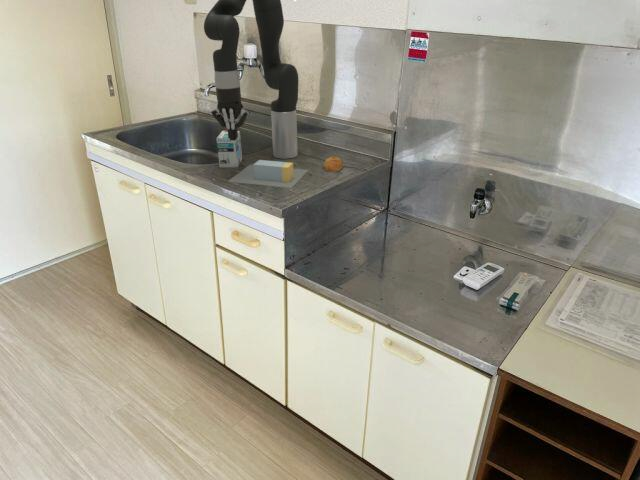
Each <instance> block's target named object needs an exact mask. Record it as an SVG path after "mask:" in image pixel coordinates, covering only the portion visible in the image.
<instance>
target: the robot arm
mask: <svg viewBox="0 0 640 480" xmlns="http://www.w3.org/2000/svg"><path fill="white" fill-rule="evenodd" d="M246 2H247V0H217V2H216V3H215V4H214V5H213V6H212V8H211V9H210V11H209V12H208V13H207V15H206V16H205V20H204V23H203V31H204V35H206V37H207V38H208V39H210V40H212V41H217V42H218V41H220V42H221V47H220V48H219V49H216V50H214V51H213V53H212V60H213V68H214V85H215V93H216V101H217V105H216V108H215V109H214V110H212V111H211V115H212V116H213V117H214V118H215V120H216V121H217V122H218V124H219V125H220V127H222V128H226V129H227V130H226V131H228V137H229V139H230V140H233V141H235V140H236V139H237V138H238V131H239V130H238V129H239V128H241V127H243V125H244V124H245V122H246V121H247V119H248V117H249V115H251V112H250V111H249V110H248V111H247V110H246V109H245V108H244V105H243V103H242V93H241V81H240V76H239V75H240V74H239V70H238V61H237V60H238V59H237V54H238V53H237V52H238V46H239V41H240V40H239V38H240V32H241V31H240V25H239V22H238V20H237V19H236V18H235V17H236V16H239V15H240V14H241V13H242V12H243V9H244V6H245V4H246ZM252 5H253V12H254V18H255V23H256V26H257V30H258V32H257V33H258V36H259V37H258V38H259V42H260V43H259V44H260V48H261V57H262V66H263V76H264V80H265V83H266V85H267V86H268V87H269V88H270V89H273V90H276V91H278V96H277V99H274V100H272V101H271V102H270V114H271V115H270V117H271V133H272V134H271V136H272V151H273V152H272V153H273V154H272V155H273V157H274V158H277V159H293V158H296V157H297V156H298V126H297V125H298V124H297V123H298V120H297V104H298V100H299V73H298V70H297V68H296V66H295V65H293V64H290V63H285V62H284V63H283V62H282V61H281V56H280V51H279V50H280V48H279V47H280V46H279V44H280V41H281V40H280V39H281V36H282V33H283V29H284V25H285V24H284V23H285V21H284V20H285V19H284V13H283V12H284V11H283V7H282V0H252ZM239 116H241V117H240V118H239Z"/></svg>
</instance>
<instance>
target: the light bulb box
mask: <svg viewBox="0 0 640 480" xmlns="http://www.w3.org/2000/svg"><path fill="white" fill-rule="evenodd" d="M237 131H238V138H237V139H236V140H235V141H233V140H230V139H229V137H228V130H222V131H221V132H220V133H219V135H218V136H217V137H216V147H217V155H218V163H219V164H218V165H219V166H218V167H219V168H238V167H239V166H240V164H241V162H242V161H243V154H242V153H243V152H242V140H241V139H242V138H241V131H240V130H237Z"/></svg>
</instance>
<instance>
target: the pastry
mask: <svg viewBox="0 0 640 480" xmlns="http://www.w3.org/2000/svg"><path fill="white" fill-rule="evenodd" d="M343 164H344V163H343V160H342V159H341V158H339V157H338V156H330V157H327V159H325V161H324V163H323V168H324V169H325V171H326V172H328V173H329V174H330V173H331V174H335V173H339V172H340V171H341V170H342V169H343V167H344V166H343Z"/></svg>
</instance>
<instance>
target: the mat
mask: <svg viewBox="0 0 640 480" xmlns="http://www.w3.org/2000/svg"><path fill="white" fill-rule="evenodd" d="M308 171H309V169H303V168H294V167H293V174H294V177H293V178H292V179H291V180H290V181H289V182H279V181H270V180H260V179H254V167H253V164H249V165H247V166H246V167H245V168H243V170H240V171H239V172H238V173H237V174H236V175H234V176H233V177H232V178H230V179H229V180H227V182H231V183H237V184H248V185H255V186H256V185H259V186H265V187H266V186H268V187H276V188H277V187H278V188H286V189H292V188H293V187H294V186H295V185H296V184H297V183H298V181H300V180H301V179H302V177H303V176H304V175H305V174H307V172H308Z"/></svg>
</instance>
